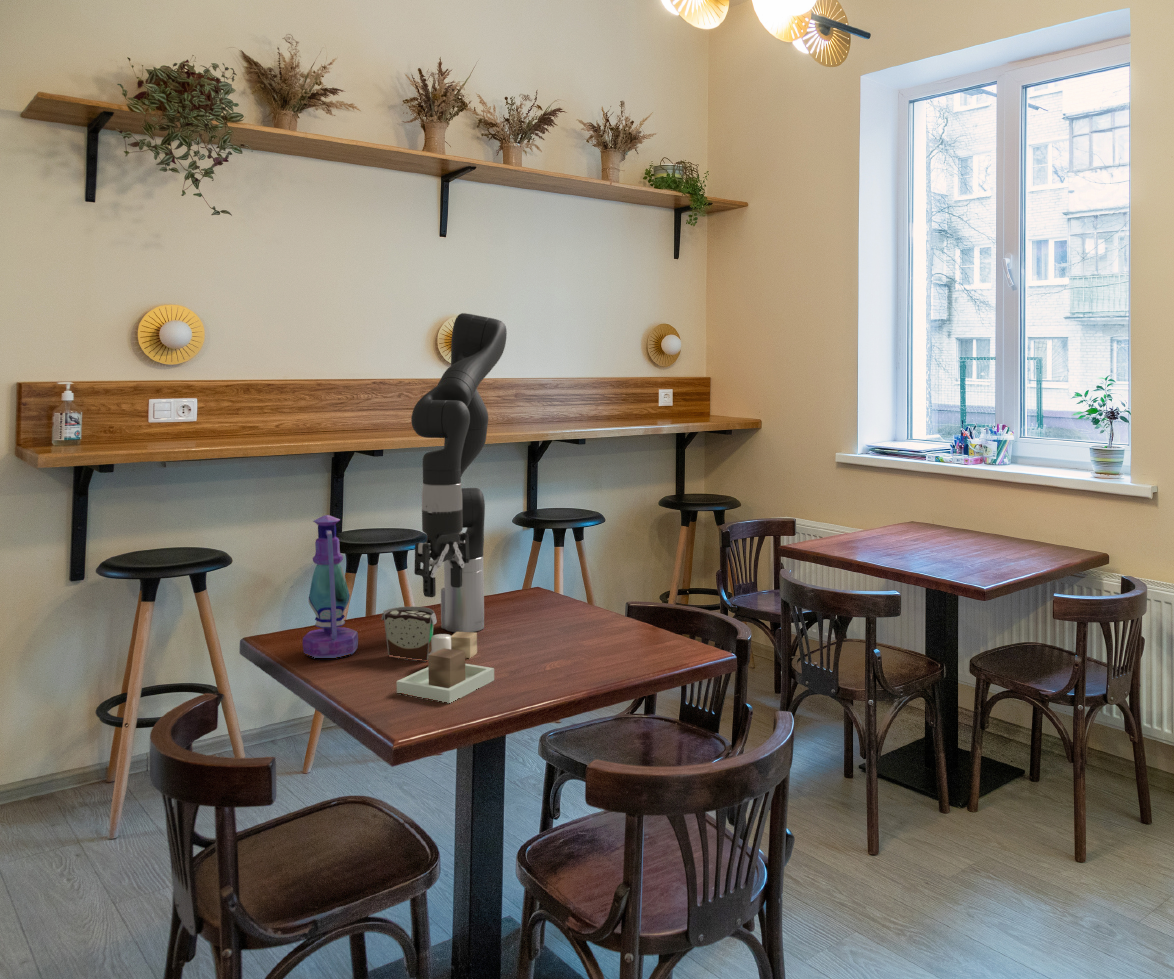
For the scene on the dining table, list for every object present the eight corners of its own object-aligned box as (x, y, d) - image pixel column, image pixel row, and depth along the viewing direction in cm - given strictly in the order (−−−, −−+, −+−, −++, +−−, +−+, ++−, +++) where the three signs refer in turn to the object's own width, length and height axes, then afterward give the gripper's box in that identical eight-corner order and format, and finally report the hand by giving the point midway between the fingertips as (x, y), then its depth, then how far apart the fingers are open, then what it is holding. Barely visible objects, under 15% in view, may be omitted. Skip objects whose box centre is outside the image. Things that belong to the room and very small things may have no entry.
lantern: (363, 658, 199) (359, 517, 196) (306, 665, 195) (301, 521, 191) (353, 642, 211) (349, 509, 208) (299, 648, 207) (294, 512, 203)
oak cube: (450, 657, 200) (449, 637, 200) (457, 651, 205) (457, 631, 204) (470, 659, 199) (470, 638, 199) (477, 653, 204) (476, 632, 203)
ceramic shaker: (427, 666, 194) (427, 637, 193) (439, 661, 198) (438, 633, 197) (444, 669, 192) (443, 640, 191) (455, 663, 196) (454, 635, 195)
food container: (447, 654, 202) (447, 608, 201) (434, 662, 197) (433, 615, 195) (397, 648, 206) (396, 604, 205) (382, 656, 201) (381, 610, 199)
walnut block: (428, 685, 180) (428, 654, 179) (444, 678, 184) (443, 648, 184) (450, 689, 178) (449, 658, 177) (465, 681, 182) (465, 651, 181)
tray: (396, 693, 177) (396, 681, 177) (443, 671, 190) (443, 660, 190) (449, 703, 172) (449, 690, 171) (494, 680, 185) (494, 668, 185)
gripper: (448, 501, 185) (449, 582, 187) (402, 510, 172) (403, 597, 174) (480, 503, 181) (480, 586, 183) (435, 513, 169) (437, 602, 171)
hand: (443, 591), depth 179 cm, fingers open, 8 cm apart
